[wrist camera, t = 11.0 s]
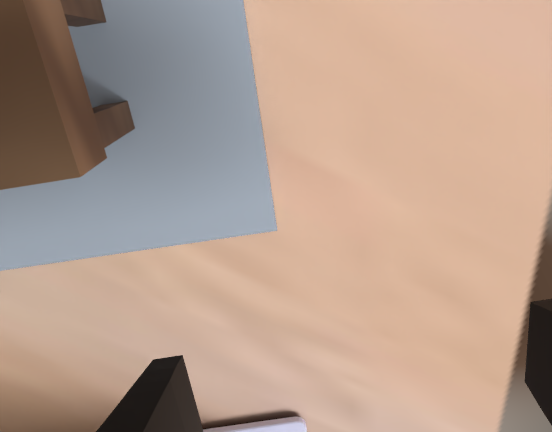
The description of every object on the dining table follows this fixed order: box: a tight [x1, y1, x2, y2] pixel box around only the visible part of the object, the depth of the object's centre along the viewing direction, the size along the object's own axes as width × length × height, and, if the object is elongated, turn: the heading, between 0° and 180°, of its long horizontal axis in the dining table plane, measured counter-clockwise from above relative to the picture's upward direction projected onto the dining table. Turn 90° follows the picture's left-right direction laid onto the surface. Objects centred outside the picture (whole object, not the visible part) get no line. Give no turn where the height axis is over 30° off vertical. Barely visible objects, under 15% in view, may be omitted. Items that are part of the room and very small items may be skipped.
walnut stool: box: [0, 0, 135, 190], centre depth 12 cm, size 5×5×6 cm
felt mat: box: [0, 0, 277, 271], centre depth 15 cm, size 14×14×1 cm
